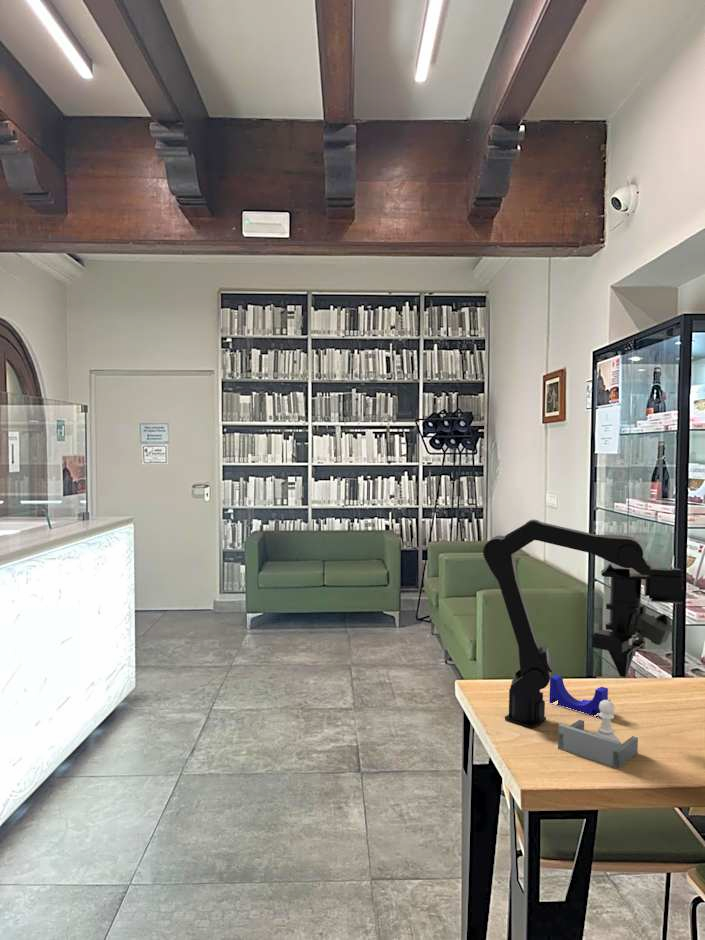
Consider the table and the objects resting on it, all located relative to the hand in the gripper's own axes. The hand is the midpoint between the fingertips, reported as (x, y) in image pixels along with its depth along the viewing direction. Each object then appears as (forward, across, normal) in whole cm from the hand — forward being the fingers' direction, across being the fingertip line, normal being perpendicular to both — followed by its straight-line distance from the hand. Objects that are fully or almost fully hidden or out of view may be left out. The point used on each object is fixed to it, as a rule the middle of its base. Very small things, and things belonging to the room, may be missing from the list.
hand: (623, 676), depth 136 cm
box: (+12, -11, 0) cm, 16 cm away
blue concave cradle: (+12, +7, +12) cm, 18 cm away
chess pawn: (+12, -8, 0) cm, 14 cm away
